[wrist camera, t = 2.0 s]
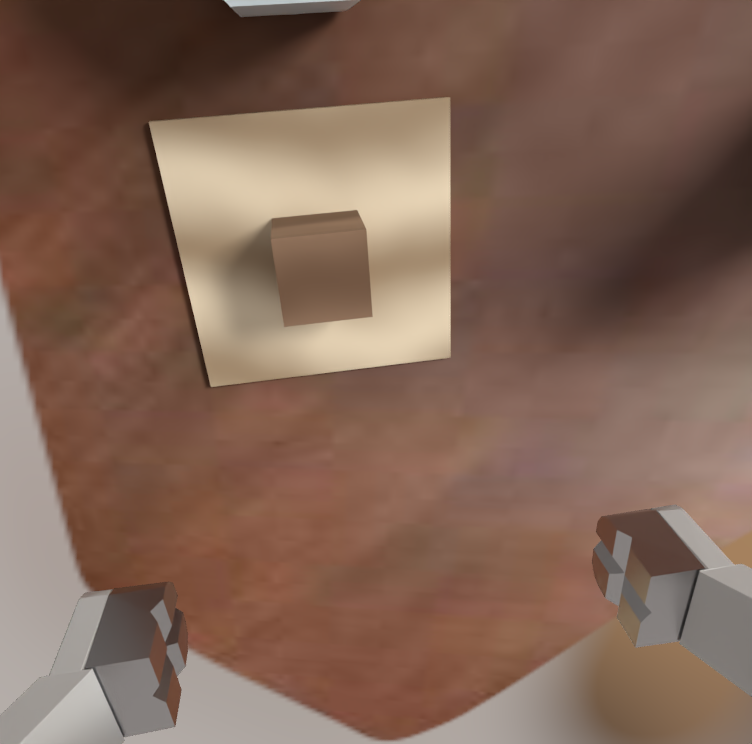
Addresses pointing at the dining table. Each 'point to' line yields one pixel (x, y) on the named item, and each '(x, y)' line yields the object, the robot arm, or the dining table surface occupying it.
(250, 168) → the lid
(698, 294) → the dining table surface
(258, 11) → the bowl
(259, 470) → the dining table surface
